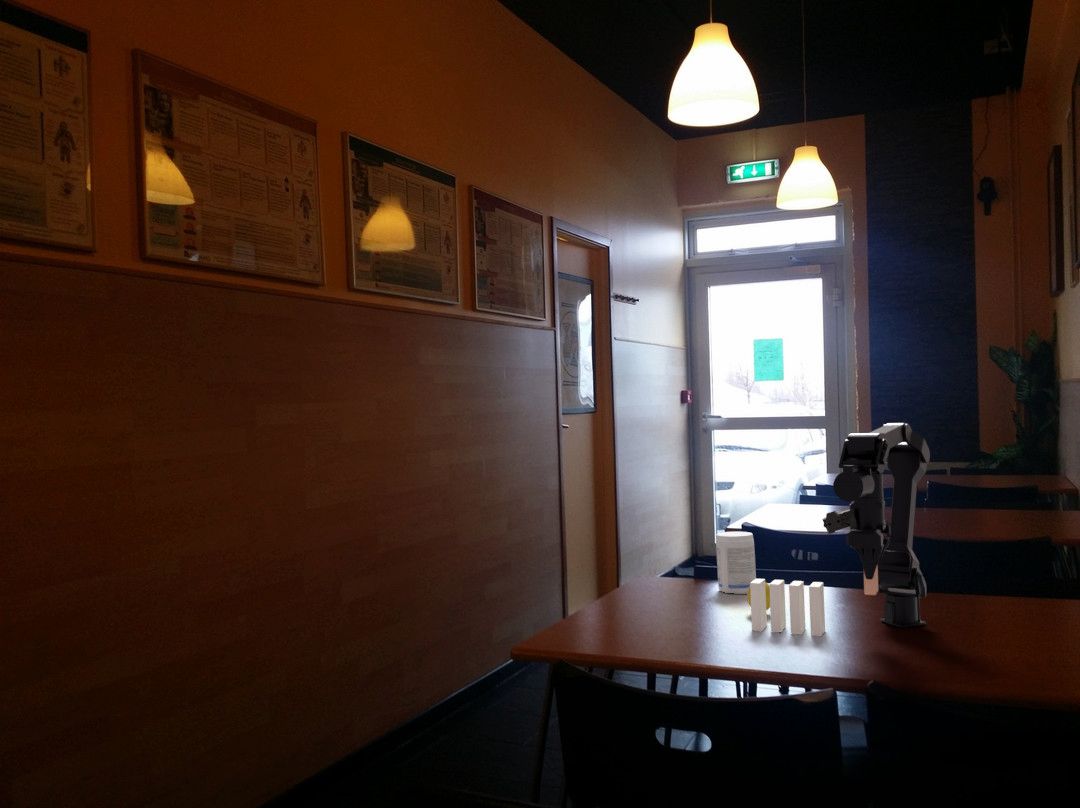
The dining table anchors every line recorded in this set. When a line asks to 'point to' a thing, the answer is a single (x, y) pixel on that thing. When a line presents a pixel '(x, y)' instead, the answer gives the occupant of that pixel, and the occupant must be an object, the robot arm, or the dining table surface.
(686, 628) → the dining table surface
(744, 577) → the supplement tub
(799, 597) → the tile
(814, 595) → the tile
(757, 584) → the tile end
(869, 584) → the tile
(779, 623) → the tile
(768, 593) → the lemon
